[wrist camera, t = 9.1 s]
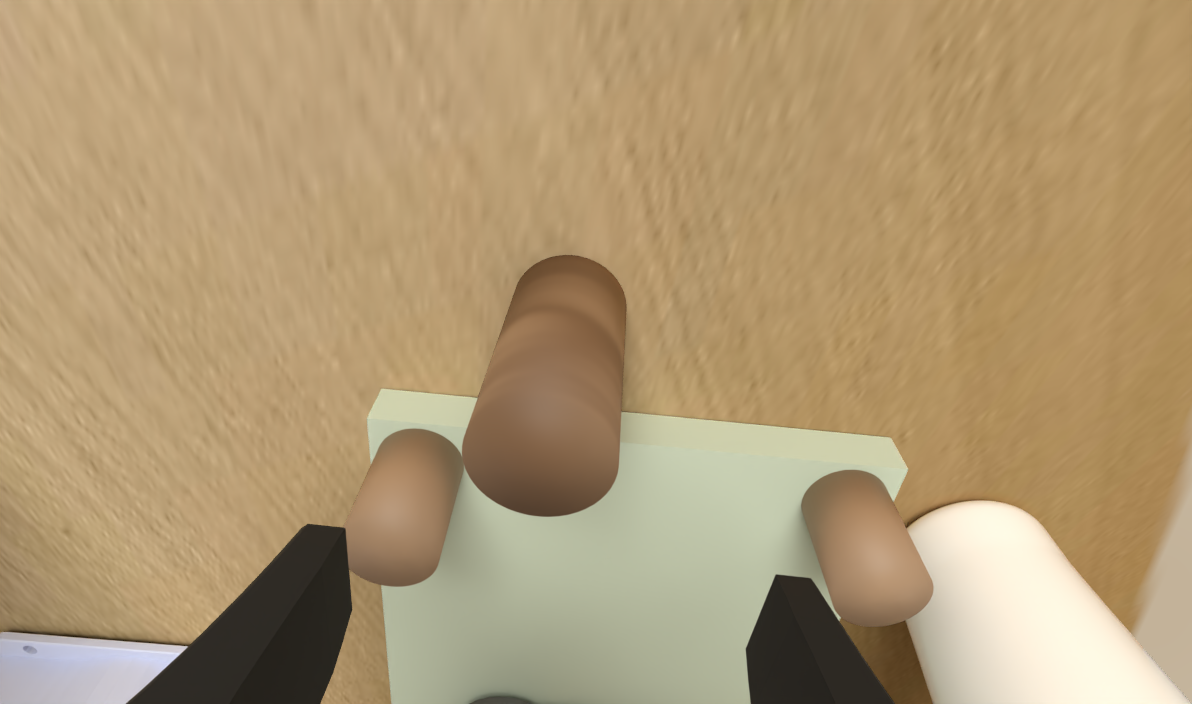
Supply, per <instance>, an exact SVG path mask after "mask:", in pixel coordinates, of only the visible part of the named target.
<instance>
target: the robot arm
mask: <svg viewBox="0 0 1192 704" xmlns="http://www.w3.org/2000/svg"><path fill="white" fill-rule="evenodd" d="M351 611H352V602H351V590H350V577H349V565H348V553H347V541H346V528H341V527H331V526H322V525H313V524H307V525H306V526H304V527H303V528H301V529H300V530H299V532H298V533H297V534H296V535H295V536H294V537H293V538H292V539H291V541H290V542H289V543H288V544H287V545H286V546H285V547H284V548H283V550H282V551H281V552H280V553H279V554H278V555H277V556H276V557H275V558H274V560H273V561H272V562H271V563H270V564H269V565H268V566H267V567H266V568H265V569H264V570H263V571H262V573H261V574H260V575H259V576H258V577H257V578H256V579H255V580H254V581H253V582H252V583H251V584H250V585H249V586H248V587H247V588H246V589H245V591H244V592H243V593H242V594H241V595H240V596H239V597H238V598H237V599H236V600H235V601H234V602H233V603H232V604H231V605H230V606H229V607H228V608H227V609H226V610H225V611H224V612H223V613H222V614H221V615H220V616H219V617H218V618H217V619H216V620H215V621H214V622H213V623H212V624H211V625H210V626H209V627H208V628H207V629H206V630H205V631H204V632H203V633H202V634H201V635H200V636H199V637H198V638H197V639H196V640H195V641H194V642H193V643H192V644H191V645H190V646H179V645H166V644H154V643H141V642H129V641H116V640H104V639H91V638H79V637H66V636H54V635H41V634H29V633H16V632H1V633H0V704H320V703H321V700H322V698H323V696H324V693H325V691H326V688H327V686H328V684H329V681H330V679H331V676H332V674H333V671H334V668H335V665H336V662H337V658H338V655H339V652H340V649H341V645H342V642H343V639H344V635H345V632H346V628H347V625H348V622H349V618H350V615H351ZM746 660H747V672H748V684H749V693H750V702H751V704H895V703H894V702H893V700H892V699H891V697H890V696H889V695H888V693H887V692H886V690H885V689H884V687H883V686H882V685H881V683H880V682H879V680H878V679H877V677H876V676H875V675H874V673H873V672H872V670H871V669H870V667H869V666H868V664H867V663H866V661H865V660H864V658H863V657H862V655H861V654H860V652H859V651H858V649H857V648H856V646H855V645H854V643H853V642H852V640H851V639H850V637H849V636H848V634H847V632H846V631H845V629H844V628H843V626H842V625H841V623H840V622H839V620H838V619H837V617H836V615H835V614H834V612H833V611H832V609H831V608H830V606H829V605H828V603H827V601H826V600H825V598H824V597H823V595H822V594H821V592H820V591H819V589H818V587H817V586H816V584H815V583H814V582H813V580H812V579H811V578H806V577H796V576H787V575H778V574H776V575H775V577H774V580H773V582H772V585H771V587H770V590H769V592H768V595H767V597H766V600H765V602H764V604H763V607H762V609H761V612H760V614H759V617H758V619H757V622H756V624H755V627H754V629H753V632H752V634H751V637H750V639H749V642H748V644H747V647H746Z"/></svg>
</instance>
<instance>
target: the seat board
mask: <svg viewBox="0 0 1192 704" xmlns="http://www.w3.org/2000/svg"><path fill="white" fill-rule="evenodd" d="M476 401H477V398H474V397H464V396H453V395H443V394H432V393H422V392H412V391H401V390H391V389H381V391H380V393H379V395H378V397H377V399H376V401H375V403H374V405H373V407H372V409H371V411H370V413H369V415H368V417H367V426H368V437H369V449H370V460H371V466H370V468H369V471H368V473H367V475H366V477H365V480H364V482H363V484H362V486H361V488H360V491H359V493H358V495H357V497H356V500H355V502H354V504H353V506H352V509H351V511H350V513H349V515H348V518H347V520H346V522H345V524H344V527H343V528H346V541H347V553H348V565H349V569H350V570H351V571H352V572H354V573H355V574H356V575H358V576H359V577H361V578H363V579H365V580H367V581H370V582H372V583H376V584H379V585H381V588H382V599H383V611H384V623H385V634H386V646H387V657H388V669H389V681H390V692H391V704H470V703H472V702H474V701H476V700H479V699H483V698H488V697H510V698H516V699H520V700H523V701H526V702H528V703H531V704H751V702H750V693H749V684H748V672H747V660H746V647H747V644H748V642H749V639H750V637H751V634H752V632H753V629H754V627H755V624H756V622H757V619H758V617H759V614H760V612H761V609H762V607H763V604H764V602H765V600H766V597H767V595H768V592H769V590H770V587H771V585H772V582H773V580H774V577H775V575H776V574H778V575H787V576H796V577H806V578H811V579H812V580H813V582H814V583H815V584H816V586H817V587H818V589H819V591H820V592H821V594H822V595H823V597H824V598H825V600H826V601H827V603H828V605H829V606H830V608H831V609H832V611H833V612H834V614H835V615H836V617H837V619H838V620H840V618H843V619H844V620H846V621H848V622H850V623H852V624H855V625H859V626H866V627H881V626H888V625H893V624H896V623H900V622H902V621H905V620H907V619H909V618H911V617H913V616H914V615H916V614H917V613H919V612H920V611H921V610H922V609H923V608H924V607H925V606H926V605H927V604H928V603H929V601H930V599H931V597H932V595H933V588H934V586H933V582H932V579H931V577H930V575H929V573H928V571H927V569H926V567H925V565H924V563H923V561H922V559H921V557H920V555H919V553H918V551H917V549H916V547H915V545H914V543H913V541H912V539H911V537H910V535H909V533H908V531H907V529H906V527H905V525H904V523H903V521H902V519H901V517H900V515H899V513H898V511H897V509H896V507H895V505H894V503H893V502H894V500H895V497H896V495H897V493H898V491H899V489H900V486H901V484H902V482H903V480H904V478H905V475H906V473H907V471H908V468H907V466H906V464H905V463H904V461H903V459H902V457H901V455H900V454H899V452H898V450H897V448H896V446H895V445H894V443H893V441H892V439H891V438H889V437H879V436H869V435H858V434H848V433H838V432H827V431H817V430H806V429H796V428H786V427H775V426H765V425H754V424H744V423H734V422H723V421H713V420H702V419H692V418H682V417H671V416H661V415H651V414H640V413H630V412H621V432H620V453H619V468H618V474H617V477H616V480H615V482H614V484H613V486H612V487H611V489H610V490H609V491H608V493H607V494H606V495H605V496H604V497H603V498H602V499H601V500H599V501H598V502H597V503H595V504H594V505H592V506H590V507H588V508H587V509H584V510H582V511H579V512H577V513H573V514H569V515H564V516H556V517H539V516H531V515H526V514H522V513H518V512H515V511H512V510H510V509H507V508H505V507H503V506H501V505H499V504H497V503H495V502H494V501H492V500H491V499H490V498H488V497H487V496H486V495H484V494H483V493H482V492H481V491H480V490H479V489H478V488H477V487H476V486H475V484H474V483H473V482H472V480H471V479H470V477H469V475H468V473H467V471H466V469H465V466H464V463H463V458H462V444H463V438H464V435H465V433H466V430H467V427H468V424H469V421H470V418H471V415H472V413H473V410H474V407H475V404H476Z"/></svg>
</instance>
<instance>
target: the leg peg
mask: <svg viewBox="0 0 1192 704" xmlns="http://www.w3.org/2000/svg"><path fill="white" fill-rule="evenodd" d="M625 326H626V299H625V295H624V292H623V290H622V288H621V285H620V284H619V282H618V281H617V279H616V278H615V277H614V276H613V274H612V273H611V272H609V271H608V270H607V269H606V268H605V267H603V266H602V265H600V264H598V263H597V262H595V261H592V260H590V259H587V258H584V257H580V256H573V255H562V256H555V257H550V258H547V259H545V260H542V261H540V262H538V263H536V264H535V265H533V266H532V267H531V268H529V269H528V270H527V271H526V272H525V273H524V275H523V276H522V277H521V279H520V281H519V282H518V284H517V287H516V290H515V293H514V295H513V298H512V301H511V304H510V307H509V310H508V313H507V315H506V318H505V321H504V324H503V327H502V330H501V333H500V335H499V338H498V341H497V344H496V347H495V350H494V353H493V355H492V358H491V361H490V364H489V367H488V370H487V373H486V375H485V378H484V381H483V384H482V387H481V390H480V393H479V395H478V398H477V401H476V404H475V407H474V410H473V413H472V415H471V418H470V421H469V424H468V427H467V430H466V433H465V435H464V438H463V444H462V458H463V463H464V466H465V469H466V471H467V473H468V475H469V477H470V479H471V480H472V482H473V483H474V484H475V486H476V487H477V488H478V489H479V490H480V491H481V492H482V493H483V494H484V495H486V496H487V497H488V498H490V499H491V500H492V501H494V502H495V503H497V504H499V505H501V506H503V507H505V508H507V509H510V510H512V511H515V512H518V513H522V514H526V515H531V516H539V517H556V516H564V515H569V514H573V513H577V512H579V511H582V510H584V509H587V508H588V507H590V506H592V505H594V504H595V503H597V502H598V501H599V500H601V499H602V498H603V497H604V496H605V495H606V494H607V493H608V491H609V490H610V489H611V487H612V486H613V484H614V482H615V480H616V477H617V474H618V468H619V453H620V432H621V411H622V390H623V369H624V347H625Z"/></svg>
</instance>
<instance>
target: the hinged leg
mask: <svg viewBox="0 0 1192 704" xmlns="http://www.w3.org/2000/svg"><path fill="white" fill-rule="evenodd" d="M470 704H531V703H528V702H526V701H523V700H520V699H516V698H510V697H488V698H483V699H479V700H476V701H474V702H472V703H470Z"/></svg>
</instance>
